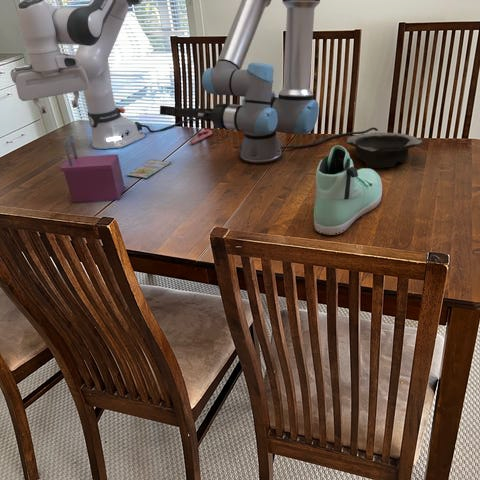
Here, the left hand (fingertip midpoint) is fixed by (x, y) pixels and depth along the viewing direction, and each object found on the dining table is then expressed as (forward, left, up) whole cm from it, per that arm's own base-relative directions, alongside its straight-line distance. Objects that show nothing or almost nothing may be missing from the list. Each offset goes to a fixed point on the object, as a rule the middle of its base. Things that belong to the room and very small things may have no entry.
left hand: (59, 110), depth 144 cm
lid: (-4, +4, -18) cm, 19 cm away
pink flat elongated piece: (-60, -9, -29) cm, 67 cm away
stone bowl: (-82, +62, -29) cm, 107 cm away
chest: (-4, +4, -29) cm, 29 cm away
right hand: (-31, +15, -6) cm, 35 cm away
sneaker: (-45, +74, -29) cm, 91 cm away
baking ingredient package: (-27, 0, -29) cm, 39 cm away
